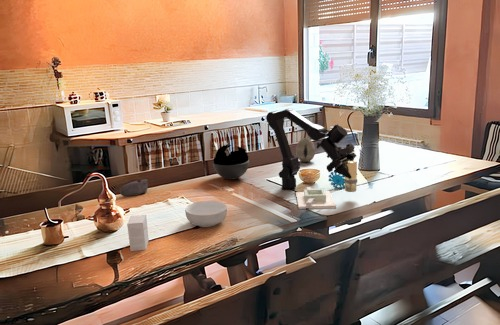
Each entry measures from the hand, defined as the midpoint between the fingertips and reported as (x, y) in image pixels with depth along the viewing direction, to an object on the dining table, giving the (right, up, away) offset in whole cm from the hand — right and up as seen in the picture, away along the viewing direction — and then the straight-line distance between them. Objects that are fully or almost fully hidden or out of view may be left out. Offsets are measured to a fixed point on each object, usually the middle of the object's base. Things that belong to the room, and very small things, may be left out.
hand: (353, 176), depth 192 cm
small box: (-86, -24, -35) cm, 96 cm away
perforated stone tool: (-104, -10, +25) cm, 107 cm away
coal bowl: (-56, -3, +45) cm, 72 cm away
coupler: (-1, -6, +3) cm, 7 cm away
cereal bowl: (-63, -19, -17) cm, 68 cm away
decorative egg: (-12, +6, +74) cm, 75 cm away
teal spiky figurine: (-2, -6, +23) cm, 23 cm away
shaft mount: (-17, -11, +4) cm, 20 cm away
